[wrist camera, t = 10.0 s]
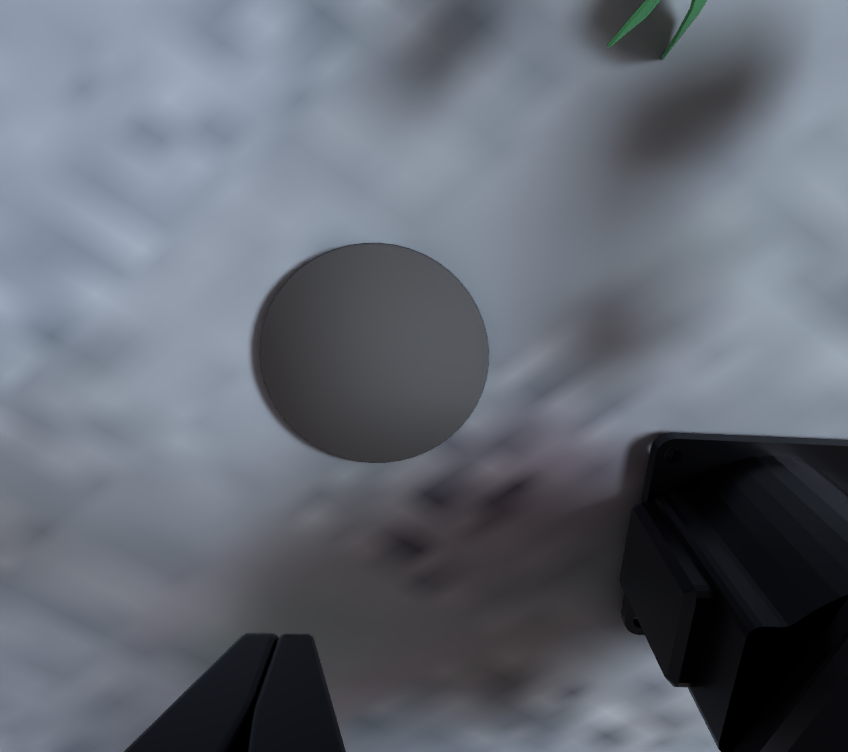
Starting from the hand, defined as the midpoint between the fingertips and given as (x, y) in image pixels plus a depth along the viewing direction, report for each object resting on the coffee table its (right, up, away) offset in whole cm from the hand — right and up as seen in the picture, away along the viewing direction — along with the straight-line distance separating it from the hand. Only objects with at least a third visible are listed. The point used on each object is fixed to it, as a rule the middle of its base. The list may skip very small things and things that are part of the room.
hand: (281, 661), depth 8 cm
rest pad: (+1, +4, +10) cm, 10 cm away
